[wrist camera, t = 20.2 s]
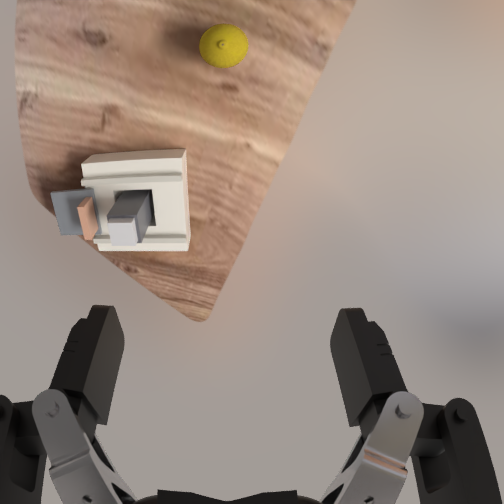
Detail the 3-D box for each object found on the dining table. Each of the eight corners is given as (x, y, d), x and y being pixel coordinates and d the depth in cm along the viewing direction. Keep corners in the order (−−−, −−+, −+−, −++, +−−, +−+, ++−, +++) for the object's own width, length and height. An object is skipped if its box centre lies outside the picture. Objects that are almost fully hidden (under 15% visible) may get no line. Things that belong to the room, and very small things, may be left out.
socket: (92, 154, 41) (78, 166, 37) (185, 148, 42) (180, 160, 38) (106, 236, 49) (97, 254, 45) (190, 236, 50) (187, 254, 46)
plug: (126, 185, 44) (103, 220, 35) (152, 184, 44) (134, 219, 35) (130, 210, 46) (109, 248, 37) (155, 209, 46) (139, 248, 38)
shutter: (52, 191, 39) (40, 202, 36) (93, 188, 39) (83, 199, 36) (62, 233, 43) (53, 246, 40) (102, 232, 43) (94, 246, 40)
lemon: (218, 74, 36) (214, 79, 30) (194, 42, 33) (184, 39, 27) (255, 52, 35) (260, 51, 28) (231, 19, 32) (230, 10, 25)
